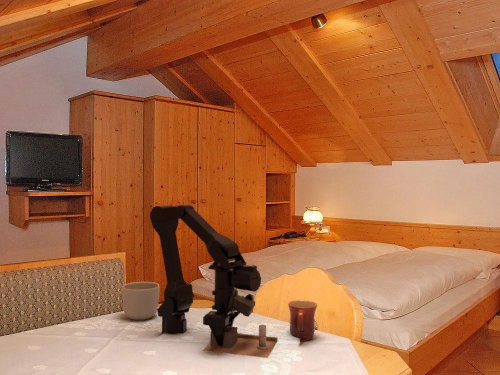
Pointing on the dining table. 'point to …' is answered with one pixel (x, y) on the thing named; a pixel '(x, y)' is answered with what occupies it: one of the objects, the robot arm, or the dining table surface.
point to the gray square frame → (226, 338)
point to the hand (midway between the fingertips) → (224, 342)
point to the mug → (302, 319)
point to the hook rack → (249, 344)
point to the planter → (140, 300)
